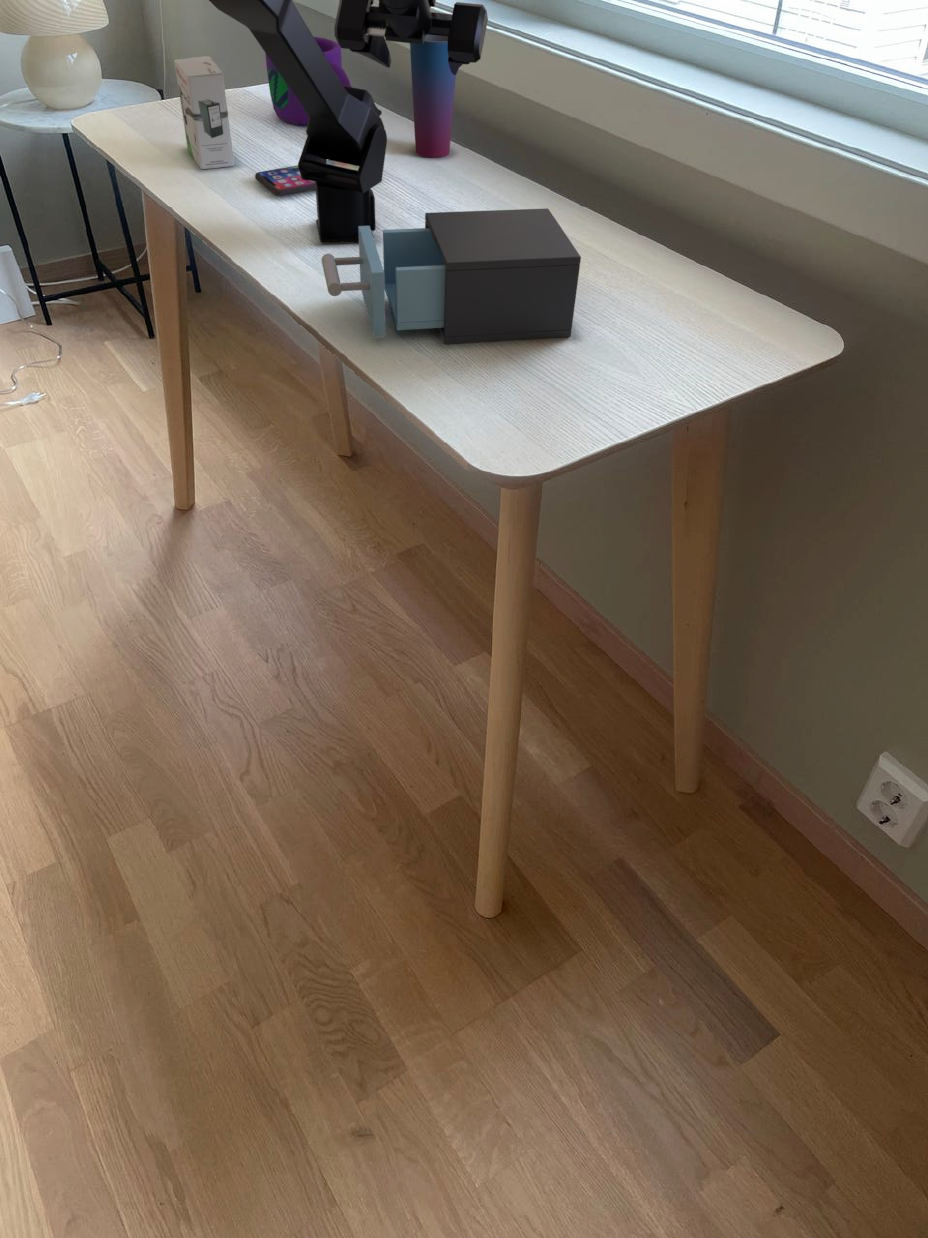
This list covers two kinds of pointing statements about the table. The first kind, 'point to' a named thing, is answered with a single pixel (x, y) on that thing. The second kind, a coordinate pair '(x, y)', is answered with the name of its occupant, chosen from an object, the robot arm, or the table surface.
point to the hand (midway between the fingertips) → (422, 67)
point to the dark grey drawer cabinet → (505, 275)
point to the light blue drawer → (396, 278)
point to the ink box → (205, 112)
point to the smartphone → (291, 179)
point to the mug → (284, 97)
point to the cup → (432, 96)
